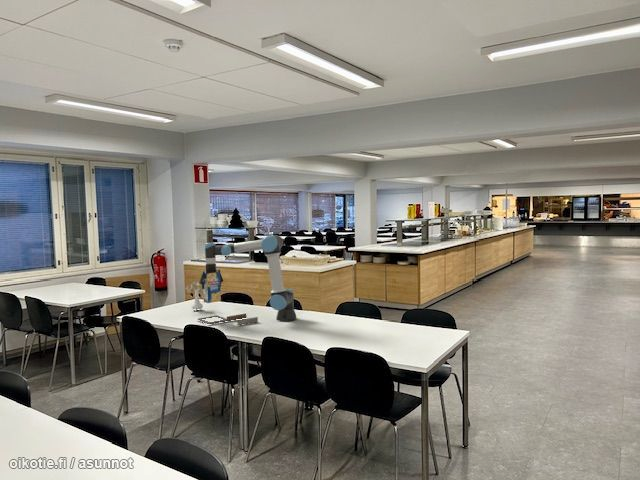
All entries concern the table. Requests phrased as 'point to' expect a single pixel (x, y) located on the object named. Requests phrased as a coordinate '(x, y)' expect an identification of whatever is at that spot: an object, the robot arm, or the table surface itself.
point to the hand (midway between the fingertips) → (211, 292)
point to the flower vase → (196, 288)
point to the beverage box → (212, 287)
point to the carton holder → (243, 321)
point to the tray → (214, 321)
